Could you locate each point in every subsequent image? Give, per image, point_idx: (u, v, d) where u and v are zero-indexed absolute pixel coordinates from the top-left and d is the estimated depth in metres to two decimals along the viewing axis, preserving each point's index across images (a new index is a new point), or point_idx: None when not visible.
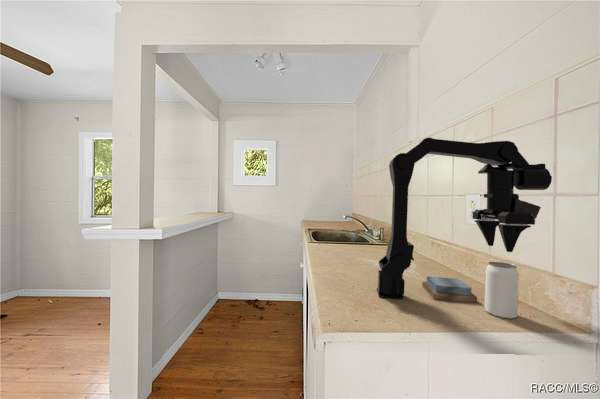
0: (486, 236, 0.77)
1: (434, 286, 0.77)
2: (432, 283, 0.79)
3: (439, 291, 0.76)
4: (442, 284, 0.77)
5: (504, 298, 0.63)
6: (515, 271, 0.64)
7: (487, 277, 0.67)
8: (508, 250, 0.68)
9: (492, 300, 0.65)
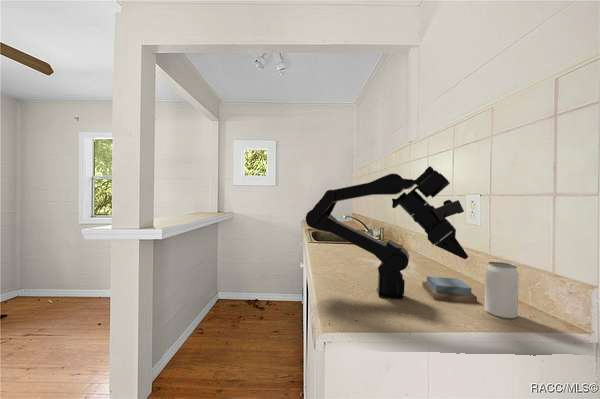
0: None
1: (434, 286, 0.77)
2: (432, 283, 0.79)
3: (439, 291, 0.76)
4: (442, 284, 0.77)
5: (504, 298, 0.63)
6: (515, 271, 0.64)
7: (487, 277, 0.67)
8: (464, 258, 0.66)
9: (492, 300, 0.65)
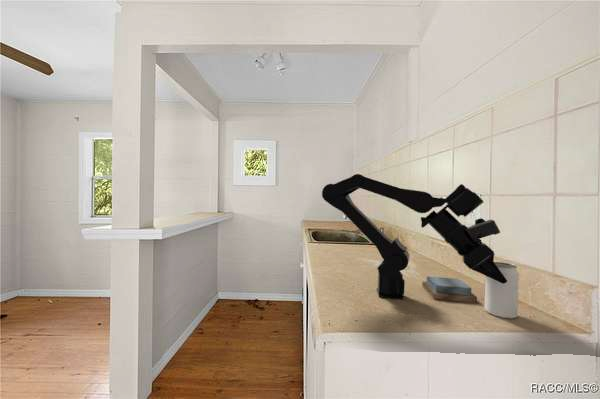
0: None
1: (434, 286, 0.77)
2: (432, 283, 0.79)
3: (439, 291, 0.76)
4: (442, 284, 0.77)
5: (504, 298, 0.63)
6: (515, 271, 0.64)
7: (487, 277, 0.67)
8: (502, 282, 0.62)
9: (492, 300, 0.65)
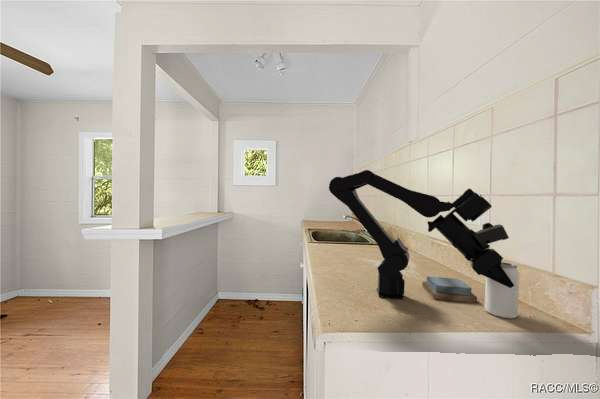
0: None
1: (434, 286, 0.77)
2: (432, 283, 0.79)
3: (439, 291, 0.76)
4: (442, 284, 0.77)
5: (504, 298, 0.63)
6: (515, 271, 0.64)
7: (487, 277, 0.67)
8: (509, 286, 0.63)
9: (492, 299, 0.65)
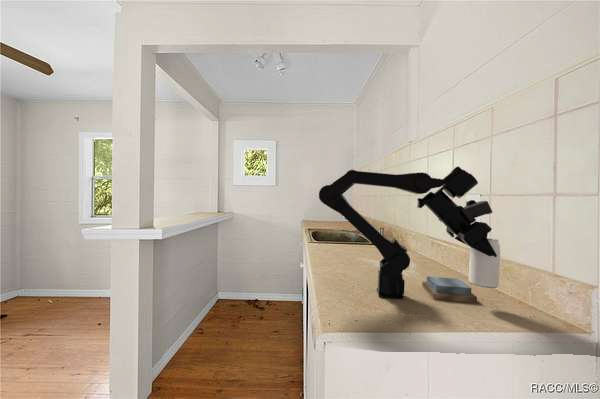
0: None
1: (434, 286, 0.77)
2: (432, 283, 0.79)
3: (439, 291, 0.76)
4: (442, 284, 0.77)
5: (488, 268, 0.68)
6: (498, 243, 0.69)
7: (472, 250, 0.71)
8: None
9: (477, 271, 0.69)
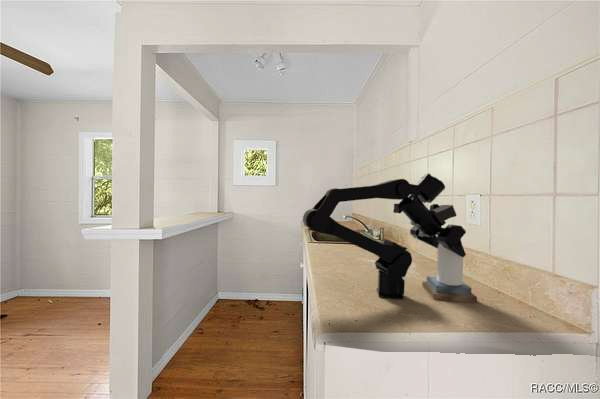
0: (435, 246, 0.84)
1: (434, 286, 0.77)
2: (432, 283, 0.79)
3: (439, 291, 0.76)
4: (442, 284, 0.77)
5: (457, 269, 0.75)
6: None
7: (442, 253, 0.77)
8: (463, 256, 0.75)
9: (448, 272, 0.76)
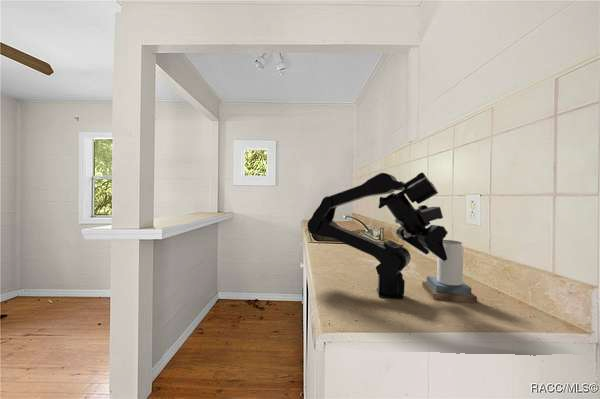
0: (419, 248, 0.81)
1: (434, 286, 0.77)
2: (432, 283, 0.79)
3: (439, 291, 0.76)
4: (442, 284, 0.77)
5: (457, 269, 0.75)
6: None
7: None
8: (444, 259, 0.72)
9: (448, 272, 0.76)
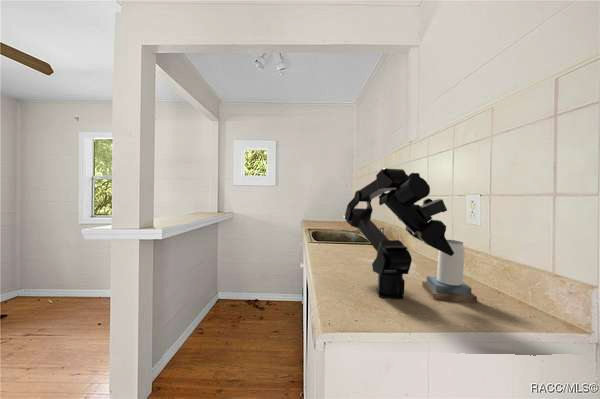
0: None
1: (434, 286, 0.77)
2: (432, 283, 0.79)
3: (439, 291, 0.76)
4: (442, 284, 0.77)
5: (458, 269, 0.75)
6: (463, 246, 0.77)
7: (443, 253, 0.77)
8: (450, 254, 0.68)
9: (448, 272, 0.76)
